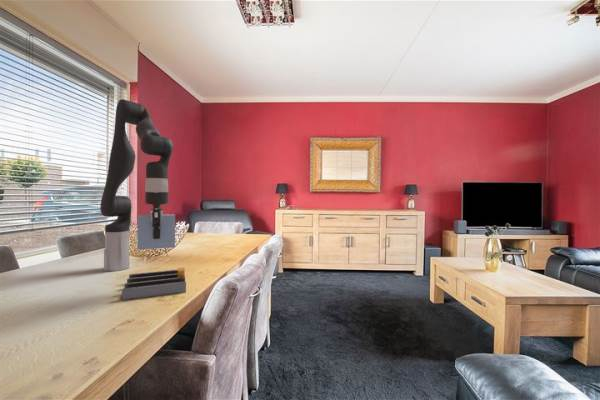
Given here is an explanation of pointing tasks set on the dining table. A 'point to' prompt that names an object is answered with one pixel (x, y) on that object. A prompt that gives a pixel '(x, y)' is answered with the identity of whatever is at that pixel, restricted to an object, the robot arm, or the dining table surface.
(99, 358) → the dining table surface
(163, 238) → the panel
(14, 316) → the dining table surface
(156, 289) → the rack
